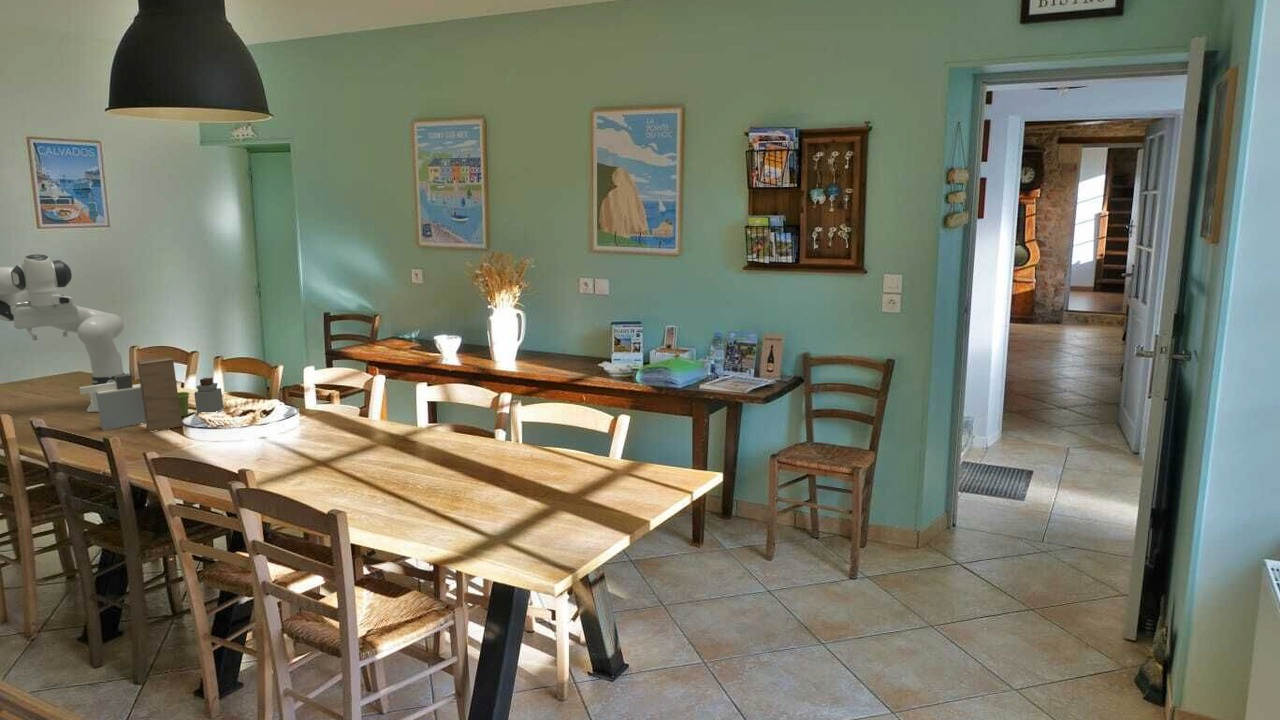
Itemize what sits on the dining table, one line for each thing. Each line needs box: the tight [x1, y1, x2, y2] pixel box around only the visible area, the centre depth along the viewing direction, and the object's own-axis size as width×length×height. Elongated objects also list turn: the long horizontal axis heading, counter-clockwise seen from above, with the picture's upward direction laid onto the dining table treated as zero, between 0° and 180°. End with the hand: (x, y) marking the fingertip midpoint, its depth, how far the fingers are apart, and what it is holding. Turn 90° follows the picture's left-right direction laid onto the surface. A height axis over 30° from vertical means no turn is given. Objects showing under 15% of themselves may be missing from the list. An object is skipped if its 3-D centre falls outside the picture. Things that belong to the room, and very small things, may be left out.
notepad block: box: [96, 383, 146, 432], centre depth 354 cm, size 7×16×14 cm, turn 126°
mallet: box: [79, 373, 133, 395], centre depth 350 cm, size 17×5×5 cm, turn 126°
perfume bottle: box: [193, 377, 224, 416], centre depth 349 cm, size 7×7×18 cm
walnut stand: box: [136, 356, 183, 432], centre depth 347 cm, size 8×11×26 cm
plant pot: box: [178, 391, 191, 417], centre depth 366 cm, size 9×9×9 cm
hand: (50, 338), depth 334 cm, fingers open, 8 cm apart
